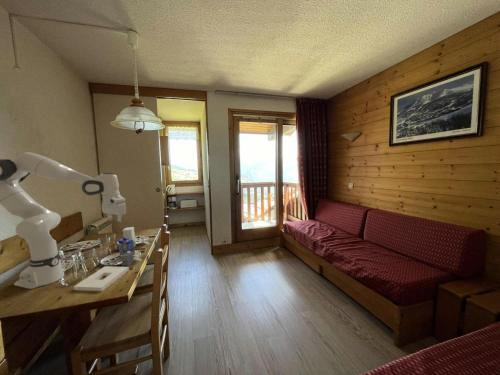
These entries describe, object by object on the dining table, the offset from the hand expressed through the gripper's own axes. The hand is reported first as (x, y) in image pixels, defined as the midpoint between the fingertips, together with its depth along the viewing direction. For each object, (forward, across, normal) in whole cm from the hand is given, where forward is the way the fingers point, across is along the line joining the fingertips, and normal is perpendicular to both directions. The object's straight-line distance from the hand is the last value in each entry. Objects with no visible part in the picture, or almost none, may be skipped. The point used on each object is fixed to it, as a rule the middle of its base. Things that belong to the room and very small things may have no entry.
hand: (115, 220), depth 131 cm
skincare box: (+32, -29, +24) cm, 49 cm away
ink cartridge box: (+32, -16, +14) cm, 38 cm away
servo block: (+32, -3, +6) cm, 32 cm away
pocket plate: (+31, +3, -12) cm, 34 cm away
